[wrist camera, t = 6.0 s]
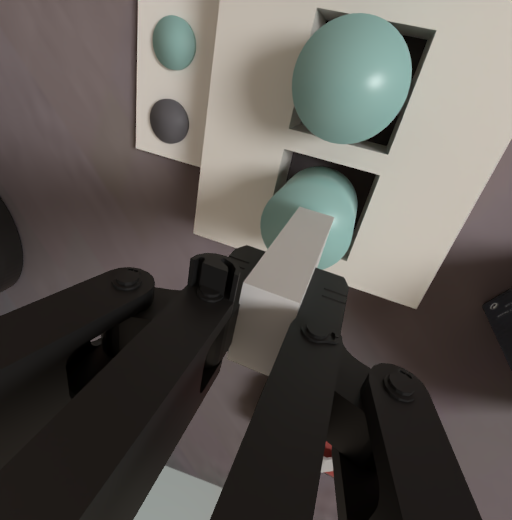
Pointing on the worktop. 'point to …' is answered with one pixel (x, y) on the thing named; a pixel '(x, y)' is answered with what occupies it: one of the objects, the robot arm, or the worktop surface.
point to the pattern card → (174, 76)
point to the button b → (351, 78)
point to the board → (364, 153)
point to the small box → (501, 321)
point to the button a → (315, 208)
